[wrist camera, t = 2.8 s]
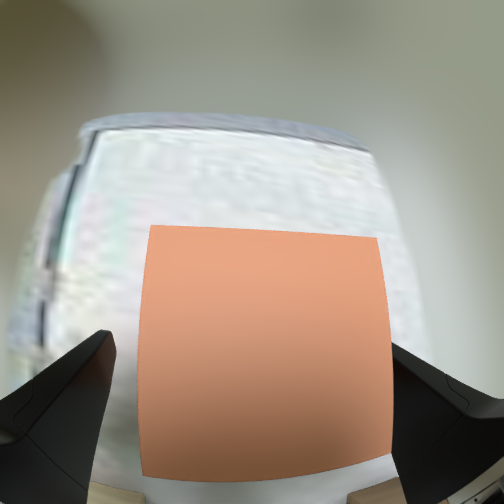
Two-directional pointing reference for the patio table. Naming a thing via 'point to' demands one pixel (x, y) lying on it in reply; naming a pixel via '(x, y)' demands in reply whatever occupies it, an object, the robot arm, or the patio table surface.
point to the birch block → (112, 495)
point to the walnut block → (381, 494)
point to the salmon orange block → (261, 354)
